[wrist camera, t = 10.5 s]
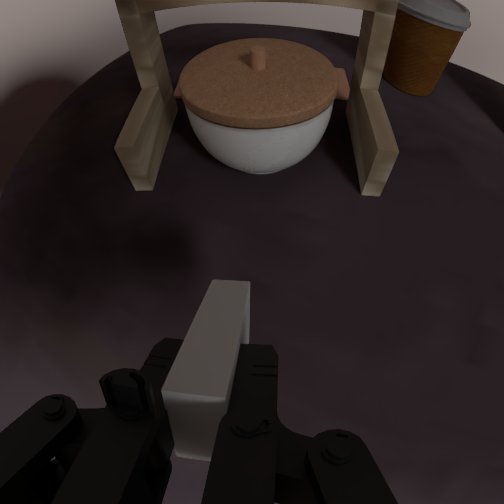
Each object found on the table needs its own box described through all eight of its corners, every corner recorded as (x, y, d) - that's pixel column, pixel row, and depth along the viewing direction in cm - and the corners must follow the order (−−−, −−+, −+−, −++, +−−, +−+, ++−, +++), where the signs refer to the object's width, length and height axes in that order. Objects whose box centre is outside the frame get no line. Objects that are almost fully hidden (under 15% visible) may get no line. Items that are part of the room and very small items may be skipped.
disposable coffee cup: (359, 57, 33) (372, -27, 22) (423, 65, 33) (444, -9, 22) (386, 102, 29) (412, 1, 18) (457, 109, 29) (491, 25, 18)
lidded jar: (346, 182, 24) (373, 83, 16) (209, 214, 23) (181, 112, 15) (299, 100, 29) (304, 15, 20) (188, 122, 28) (168, 34, 20)
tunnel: (360, 113, 28) (388, -25, 15) (379, 196, 23) (444, 25, 10) (163, 111, 29) (127, -21, 16) (135, 190, 24) (62, 32, 12)
